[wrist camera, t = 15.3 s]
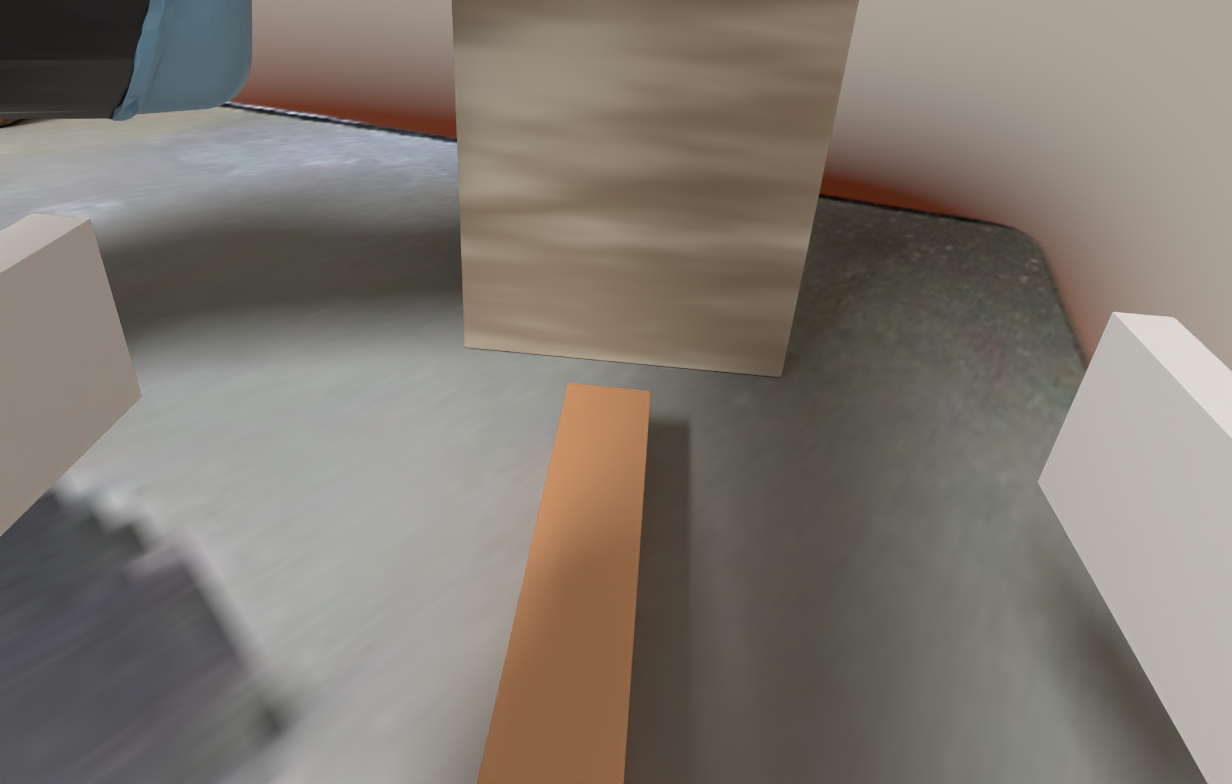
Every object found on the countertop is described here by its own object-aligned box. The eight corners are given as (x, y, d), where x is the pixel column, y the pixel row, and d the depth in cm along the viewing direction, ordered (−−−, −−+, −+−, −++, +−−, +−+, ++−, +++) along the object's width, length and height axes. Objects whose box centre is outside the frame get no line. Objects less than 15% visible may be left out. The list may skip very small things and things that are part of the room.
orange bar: (546, 1790, 10) (552, 1815, 8) (295, 1755, 10) (253, 1772, 8) (643, 457, 32) (650, 391, 30) (565, 449, 32) (568, 383, 30)
